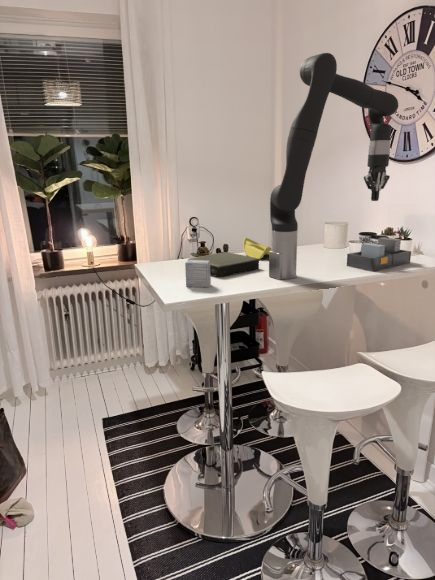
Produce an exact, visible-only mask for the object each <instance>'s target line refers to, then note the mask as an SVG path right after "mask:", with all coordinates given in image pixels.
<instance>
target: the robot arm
mask: <svg viewBox="0 0 435 580" xmlns="http://www.w3.org/2000/svg"><path fill="white" fill-rule="evenodd" d="M337 64H338V63H337V60H336V58H335V55H334V54H332V53H330V52H323V53H319V54H315V55H312V56H309V57H307V58H306V59H305V60H303V61H302V63H301V65H300V68H299V77H300V79H301V81H302V83H303V84H304V85H306V86H308V87H309V88H308V92H307V96H306V98H305V100H304V102H303V104H302V105H301V107H300V108H299V110H298V111H297V113H296V115H295V117H294V118H293V121H292V123H291V125H290V129H289V132H288V137H287V142H286V150H285V151H286V153H285V154H286V158H285V159H286V161H285V162H286V164H285V170H284V174H283V177H282V180H281V184H278V185H277V186H275V187H274V188H273V189H272V191H271V194H270V198H269V199H270V202H269V209H270V211H269V212H270V213H269V215H270V224H271V247H270V248H271V251H270V252H269V255H268V277H270V278H274V279H277V280H291V279H295V278H296V277H297V263H298V262H297V260H298V259H297V258H298V257H297V256H298V253H297V252H298V228H299V226H298V220H297V218H296V210H297V209H298V207H299V206H300V204H301V202H302V197H303V193H304V192H303V191H304V186H305V180H306V174H307V172H308V167H309V165H310V160H311V157H312V154H313V150H314V147H315V143H316V140H317V136H318V132H319V129H320V128H319V127H320V123H321V120H322V118H323V117H322V116H323V115H324V110H325V106H326V103H327V100H328V97H329V95H330V93H331V94H333V95H335V96H338V97H341V98H343V99H344V100H346V101H349V102H351V103H352V104H354V105H356V106H358V107H360V108H362V109H367V112H368V113H367V114H368V120H369V126H370V138H369V139H370V140H369V145H368V155H367V167H368V168H369V169H368V172H367V173H368V174H367V175H364V176H363V180H364V182H365V185H366V187H367V189H368V190H370V191H371V195H370V196H371V197H370V200H371V201H372V202H378V201H379V199H380V191H381V190H384V189H385V187H386V185H387V183H388V181H389V179H390V175H387V167H389V165H390V154H391V135H392V126H391V125H390V123H385V118H384V117H389V116H393V115H394V114H395V113H396V112H397V111H398V109H399V99H398V98H397V97H396V96H395V95H394V94H393V93H390V92H387V91H384V90H380V89H376V88H374V87H372V86H370V85H368V84H367V83H365V82H363V81H361V80H358V79H356V78H352V77H351V78H350V77H347V76H344V75H341V74H338V73H337V71H338V70H337V68H338V65H337Z"/></svg>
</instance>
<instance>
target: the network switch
mask: <svg viewBox="0 0 435 580" xmlns="http://www.w3.org/2000/svg"><path fill="white" fill-rule="evenodd" d="M189 260H202V261H210V276H213V277H217V278H224V277H229V276H233V275H237V274H242V273H246V272H247V273H249V272H252V271H256V270H259V268H260V260H259V259H258V258H254V257H249V256H247V255H243V254H239V253H233V252H227V251H223V252H216V253H213V254H206V255H202V256H196V257H189V258H188V259H187V261H189Z"/></svg>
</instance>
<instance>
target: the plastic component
mask: <svg viewBox="0 0 435 580" xmlns="http://www.w3.org/2000/svg"><path fill="white" fill-rule="evenodd" d="M242 249H243V253H245V256H249V257H254V258H258V259H259V261H260V260H261V259H262V258H263V257H264V256H267V255H268V256H269V252H270V251H271V247H270V246H266V245H263V244H262V243H259V242H256V241H254V240H252V239H250V238H248V237H244V238H243V244H242Z"/></svg>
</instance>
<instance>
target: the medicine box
mask: <svg viewBox="0 0 435 580" xmlns="http://www.w3.org/2000/svg"><path fill="white" fill-rule="evenodd" d="M184 265H185V268H184V269H185V285H186V286H185V287H186V288H209V287H210V286H211V285H212V281H211V278H212V277H211V276H212V275H211V274H210V261H202V260H189V261H188V260H187V261H186V262H185V263H184Z"/></svg>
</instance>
